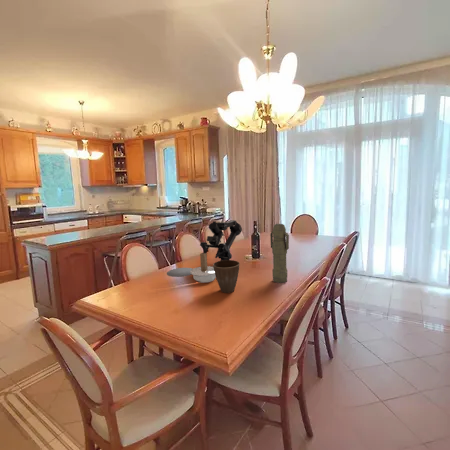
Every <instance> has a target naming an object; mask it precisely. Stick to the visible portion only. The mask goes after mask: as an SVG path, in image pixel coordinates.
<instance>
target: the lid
mask: <svg viewBox="0 0 450 450" xmlns="http://www.w3.org/2000/svg"><path fill="white" fill-rule="evenodd" d="M207 253H208V252H207ZM207 253H203V252H201V253H200V254H199V257H200V260H199V261H200V266H198V267H194V268H193V269H192V270H191V271H190V273H191V274H192V275H191V276H193V275H194V276H210V275H214V274H215V272H214V267H213V266H210V265H209V266H208V256H207V255H208V254H207Z"/></svg>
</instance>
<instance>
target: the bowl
mask: <svg viewBox="0 0 450 450" xmlns="http://www.w3.org/2000/svg"><path fill="white" fill-rule="evenodd" d="M192 276H193V280H195V281H196V282H197V283H202V284H203V283H204V284H206V283H212V282H214V281H215V280H216V276H215V274H214V275H210V276H194V275H192Z"/></svg>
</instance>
